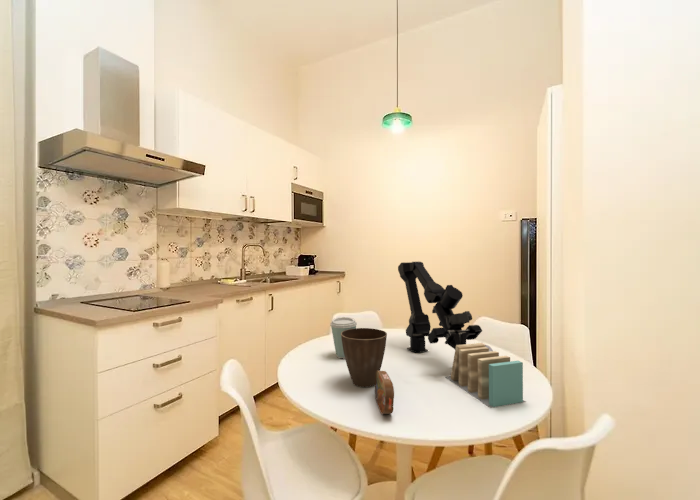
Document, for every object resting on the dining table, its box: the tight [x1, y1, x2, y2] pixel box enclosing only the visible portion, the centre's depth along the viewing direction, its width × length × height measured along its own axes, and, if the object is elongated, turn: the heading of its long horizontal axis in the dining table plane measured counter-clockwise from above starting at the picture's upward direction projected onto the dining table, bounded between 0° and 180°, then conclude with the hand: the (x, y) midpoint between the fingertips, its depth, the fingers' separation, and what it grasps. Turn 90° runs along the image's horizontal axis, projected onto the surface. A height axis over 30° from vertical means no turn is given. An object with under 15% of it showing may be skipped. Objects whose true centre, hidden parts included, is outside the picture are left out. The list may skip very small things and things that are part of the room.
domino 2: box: [459, 347, 489, 386], centre depth 99 cm, size 2×10×11 cm, turn 106°
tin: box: [374, 370, 395, 415], centre depth 86 cm, size 15×3×8 cm, turn 5°
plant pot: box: [341, 327, 388, 388], centre depth 101 cm, size 15×15×16 cm
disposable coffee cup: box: [330, 316, 357, 360], centre depth 127 cm, size 11×11×15 cm
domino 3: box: [468, 350, 500, 393], centre depth 95 cm, size 2×10×11 cm, turn 107°
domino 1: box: [450, 342, 487, 381], centre depth 102 cm, size 2×10×12 cm, turn 106°
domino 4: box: [478, 355, 511, 399], centre depth 91 cm, size 2×10×11 cm, turn 107°
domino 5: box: [489, 360, 524, 408], centre depth 86 cm, size 2×10×11 cm, turn 106°
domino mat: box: [444, 375, 527, 409], centre depth 96 cm, size 22×12×1 cm, turn 16°
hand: (466, 356), depth 103 cm, fingers closed
